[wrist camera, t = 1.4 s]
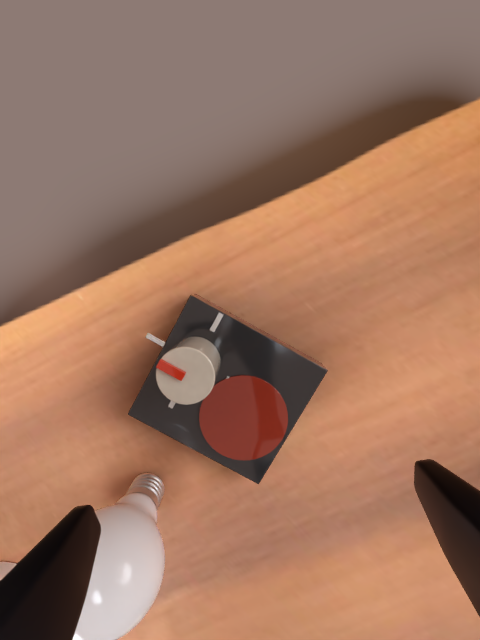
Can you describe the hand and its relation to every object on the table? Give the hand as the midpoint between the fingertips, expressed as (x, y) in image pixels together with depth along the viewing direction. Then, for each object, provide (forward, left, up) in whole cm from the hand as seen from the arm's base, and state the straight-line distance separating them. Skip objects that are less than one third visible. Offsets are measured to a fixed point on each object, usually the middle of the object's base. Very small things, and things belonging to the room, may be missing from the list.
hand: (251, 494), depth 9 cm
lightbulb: (-13, +2, -16) cm, 21 cm away
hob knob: (-2, +3, -14) cm, 15 cm away
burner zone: (-4, -2, -14) cm, 15 cm away
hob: (-3, 0, -16) cm, 16 cm away
